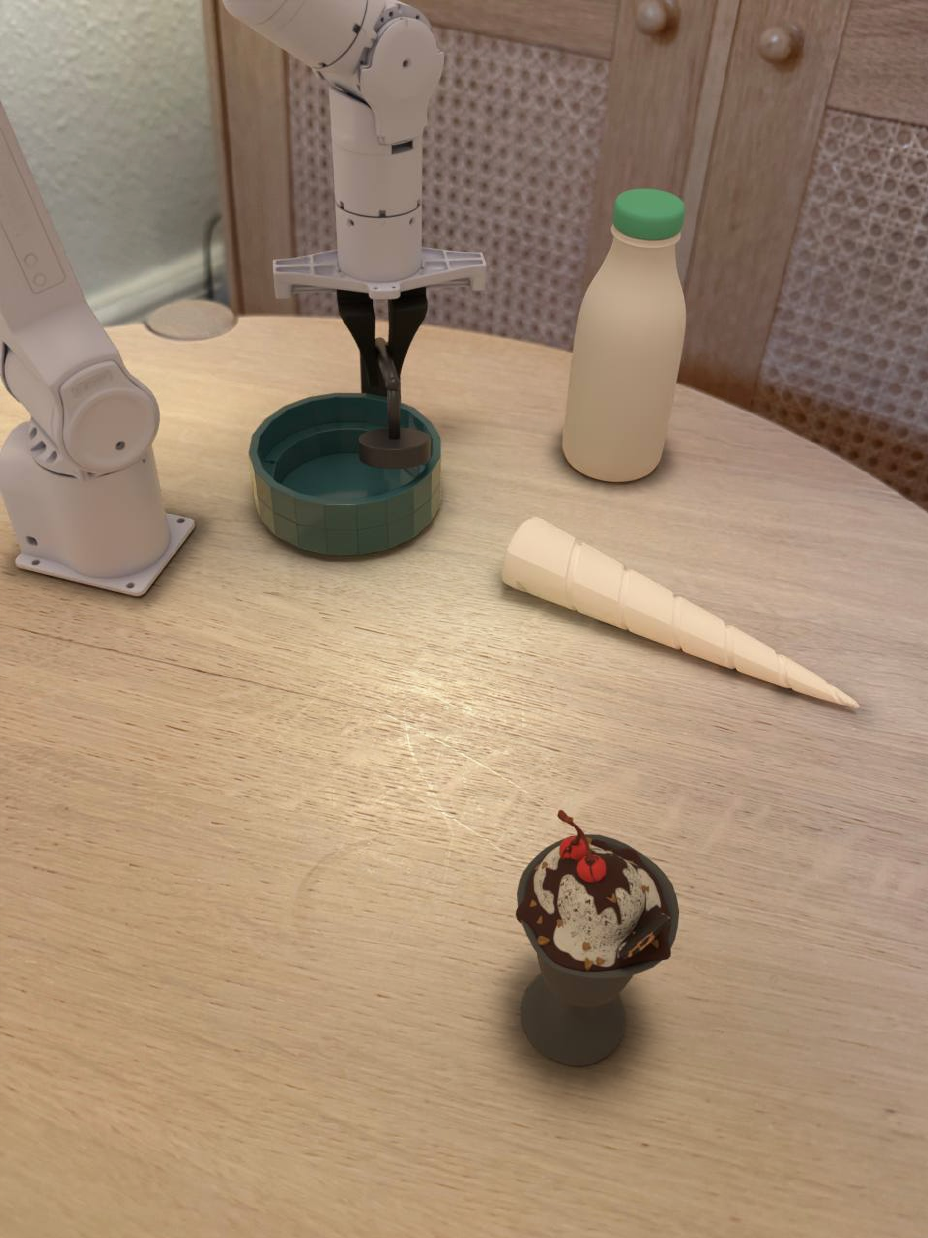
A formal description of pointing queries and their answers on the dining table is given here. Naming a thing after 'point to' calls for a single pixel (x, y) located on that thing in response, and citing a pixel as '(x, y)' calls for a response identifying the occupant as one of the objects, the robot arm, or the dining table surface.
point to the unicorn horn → (643, 607)
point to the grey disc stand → (390, 421)
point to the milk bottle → (628, 344)
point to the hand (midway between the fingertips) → (382, 378)
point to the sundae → (590, 940)
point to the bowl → (340, 476)
